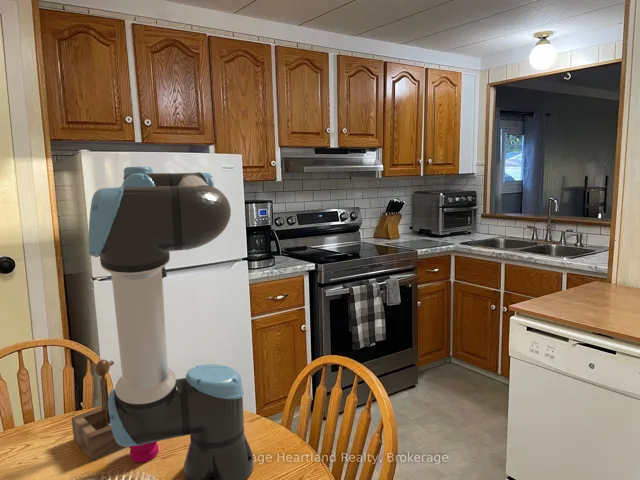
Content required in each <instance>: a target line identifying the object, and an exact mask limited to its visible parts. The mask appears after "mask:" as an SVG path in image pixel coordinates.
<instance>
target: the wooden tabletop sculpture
mask: <svg viewBox="0 0 640 480" xmlns="http://www.w3.org/2000/svg"><path fill="white" fill-rule="evenodd" d="M114 364H115V361H114V360H110V361H108V360H106V359H100V360H99V361H97V363H96V365H95V368H94V372H95V374H96V375H97V376H99V377H101V378H100V380H99V381H100V382H99V383H100V391H101V392H100V393H101V407H102V421H101V427H100V429H102V428H104V427H107V426H109V425H111V424H110V422H109V415H108V398H109V388H108V387H109V386H108V378H107V377H106V375H107V374H108V373H109V371H110V368H111V366H113V365H114ZM104 410H105V422H106V423H105V424H103V415H104Z"/></svg>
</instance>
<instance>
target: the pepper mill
mask: <svg viewBox="0 0 640 480" xmlns="http://www.w3.org/2000/svg"><path fill="white" fill-rule="evenodd" d="M158 442H159V441H156V442H152V443H147V444H144V445H140V446H129V447H128V448H130V450H129V455H130V457H129V458H130V460H131V461H132V462H134V463H138V464H139V463H145V462H149V461H151V460H153V459H154V458H156V457H157V456H158V454H159V444H158Z"/></svg>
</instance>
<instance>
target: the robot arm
mask: <svg viewBox="0 0 640 480" xmlns="http://www.w3.org/2000/svg"><path fill="white" fill-rule="evenodd" d="M231 211H232V209H231V204H230V202H229V200H228V198H227V196H226V195H225V194H224V193H223V192H222V191H221V190H219V189H218V188H216V187H215V185H214V178H213V176H212V174H211V173H209V172H201V171H198V172H180V173H179V172H175V173H171V172H165V173H163V172H162V173H161V172H157V173H156V172H155V173H154V171H153V168H152V167H150V166H127V167H125V168H124V169H123V182H122V185H120V186H119V187H107V188H106V187H104V188H103V187H102V188H100V189H97V190H96V191H95V192H94V193H93V195H92V198H91V202H90V211H89V221H88V237H87V238H88V241H87V242H88V243H87V244H88V246H87V247H88V254H89V255H90V256H91V257H94V258H99V261H100V266H101V268H102V269H104V270H105V271H106V272H108V273H110V274H111V275H110V276H111V281H112V292H113V293H112V294H113V303H114V309H115V311H114V312H115V313H114V314H115V319H116V320H115V322H116V329H117V340H118V349H119V359H120V368H121V376H120V377H119V378H118V380H117V381H116V384H115V386H114V389H112V390H110V391H109V392H108V397H109V398H108V402H107V403H108V410H109V416H110V424H111V429H112V432H113V436H114V438H115V440H116V442H117V443H118V444H119V445H120V446H123V447H125V448H129V446H140V445H144V444H147V443H152V442H156V441H158V442H160V441H164V440H170V439H174V438H179V437H185V436H189V437H190V442H189V446H188V449H187V453H186V456H185V460H184V463H183V479H184V480H247V479H249V477H250V475H252V473H253V470H254V455H253V451H252V449H251V445H249V442H248V439H247V437H246V435H245V421H244V398H243V397H244V389H243V384H242V383H243V381H242V378H241V375H240V373H239V372H238V371H237V370H236V369H234V368H232V367H230V366H226V365H222V364H210V363H209V364H201V365H196V366H195V367H194V366H193V367H191V368H190V369H188V371H187V372H186V375H185V377H183V378H177V377H176V376H177V375H176V374H175V372H174V371H173V370H172V369H171V368H169V367H168V353H167V352H168V351H167V337H166V336H167V335H166V320H165V319H166V317H165V315H166V314H165V303H164V302H165V299H164V285H163V282H164V281H163V280H164V278H167V271H166V266H167V264H168V263H169V262H170V259H171V258H170V257H171V256H170V252H175V251H176V252H177V251H188V250H193V249H196V248H200V247H203V246H204V245H205V246H206V245H207V244H209V243H210V242H212V241H214V240H215V239H216V238H218V236H220V235H221V234H222V233H223V232H224V231H225V229H227V226H228V224H229V222H230V219H231V216H232V215H231Z"/></svg>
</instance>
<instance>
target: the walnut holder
mask: <svg viewBox="0 0 640 480" xmlns="http://www.w3.org/2000/svg"><path fill="white" fill-rule="evenodd" d="M108 415H109V410H108ZM101 421H102V406H101V407H97V408H95V409H92V410H89V411H87V412H83V413H81V414H78V415H74V416H72V417H71V425H72V433H73V441H74V442H75V443H76V444H77V445H78V447H79V448H80V449H81V450H82V451H83V452H84V453H85V455H86V456H87V457H88V458H89V459H90V461H91V462H94V461H97V460H99V459H101V458H103V457H106V456H109V455H111V454H113V453H116V452H118V451H120V450H123V449H125V448H126V447H123V446H120V445H119V444H118V443H117V442H116V440H115V438H114V436H113V432H112V429H111V425H109V426H107V427H104V428H102V429H100V427H101ZM109 422H110V416H109ZM105 423H106V422H105V410H104V415H103V424H105Z"/></svg>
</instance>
